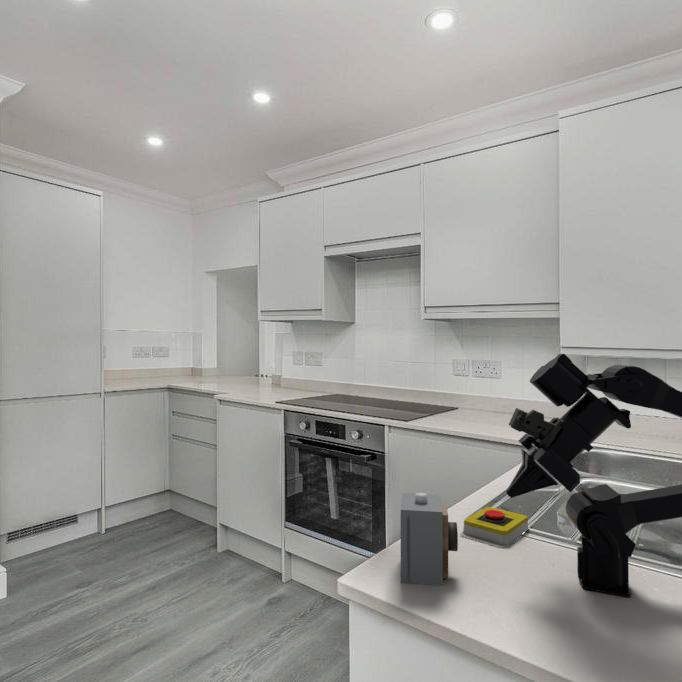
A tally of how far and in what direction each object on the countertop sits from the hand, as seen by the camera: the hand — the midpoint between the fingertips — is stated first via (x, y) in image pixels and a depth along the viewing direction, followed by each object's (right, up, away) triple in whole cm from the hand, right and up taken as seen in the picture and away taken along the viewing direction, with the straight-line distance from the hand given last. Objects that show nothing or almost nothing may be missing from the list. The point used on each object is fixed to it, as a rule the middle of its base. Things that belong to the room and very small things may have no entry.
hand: (508, 495), depth 78 cm
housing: (-14, -13, +2) cm, 19 cm away
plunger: (-11, -13, +1) cm, 17 cm away
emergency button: (+4, -14, +19) cm, 24 cm away
